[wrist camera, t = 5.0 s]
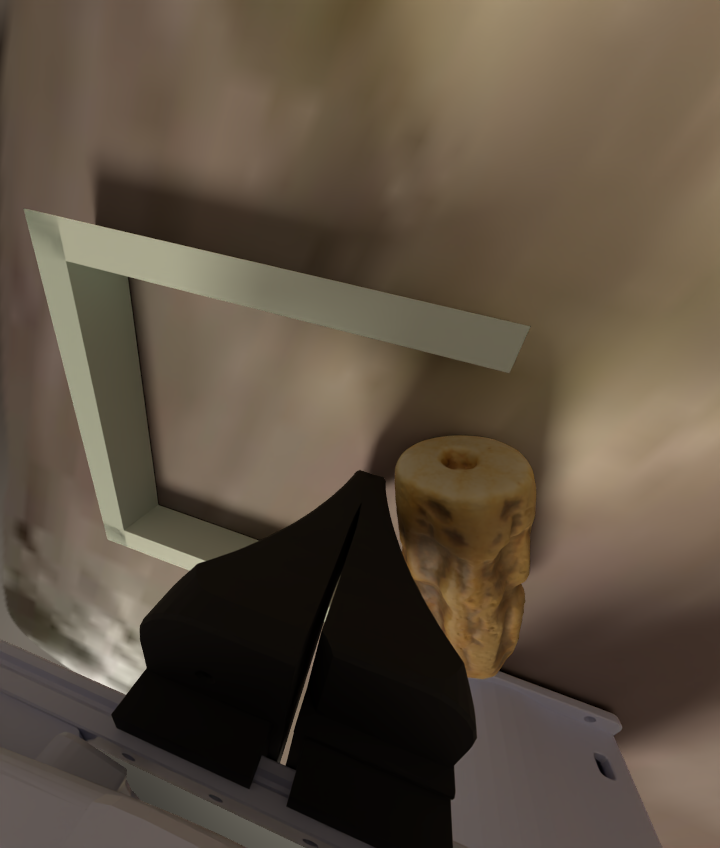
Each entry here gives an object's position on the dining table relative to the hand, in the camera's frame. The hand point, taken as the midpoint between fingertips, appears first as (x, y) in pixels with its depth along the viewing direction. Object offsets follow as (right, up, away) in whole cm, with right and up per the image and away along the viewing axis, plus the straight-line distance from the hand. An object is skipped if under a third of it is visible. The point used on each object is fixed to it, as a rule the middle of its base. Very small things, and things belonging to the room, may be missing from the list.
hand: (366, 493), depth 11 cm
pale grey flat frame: (-4, +2, +1) cm, 5 cm away
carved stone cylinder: (+4, -1, +1) cm, 4 cm away
